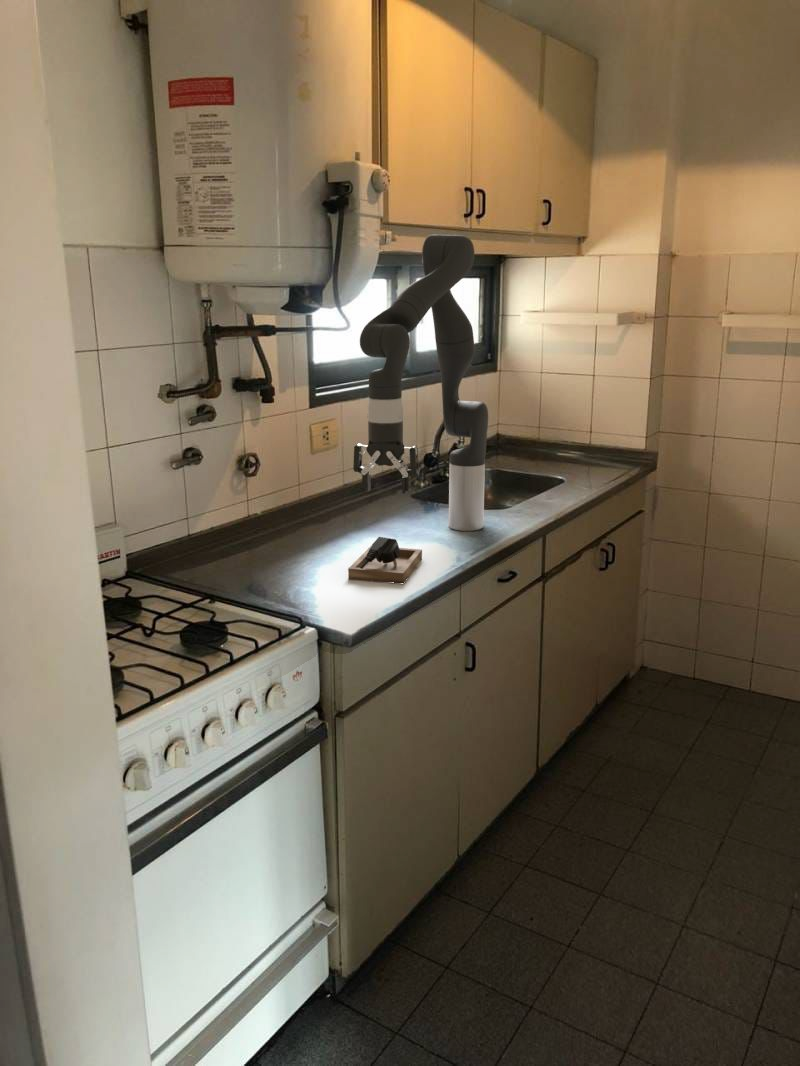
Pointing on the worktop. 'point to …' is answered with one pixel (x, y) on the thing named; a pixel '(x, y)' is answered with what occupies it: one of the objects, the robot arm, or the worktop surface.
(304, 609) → the worktop surface
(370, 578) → the brown tray
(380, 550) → the power plug
